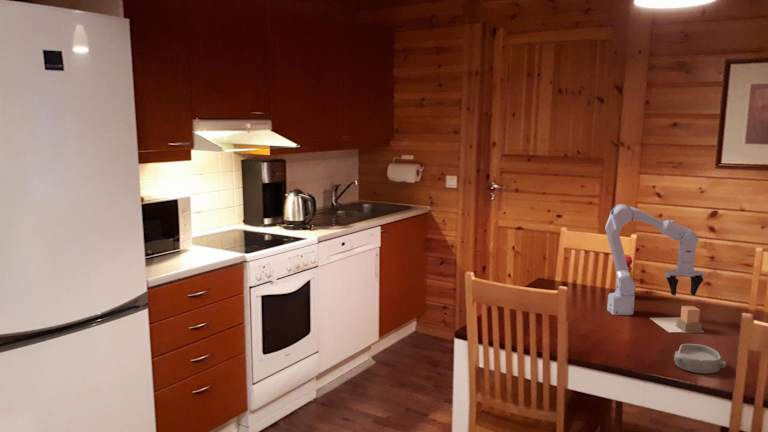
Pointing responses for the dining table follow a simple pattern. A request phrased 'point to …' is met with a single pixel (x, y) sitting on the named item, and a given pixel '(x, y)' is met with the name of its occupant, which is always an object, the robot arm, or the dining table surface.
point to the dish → (698, 359)
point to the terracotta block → (690, 314)
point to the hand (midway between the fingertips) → (683, 294)
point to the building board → (667, 323)
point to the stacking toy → (628, 265)
